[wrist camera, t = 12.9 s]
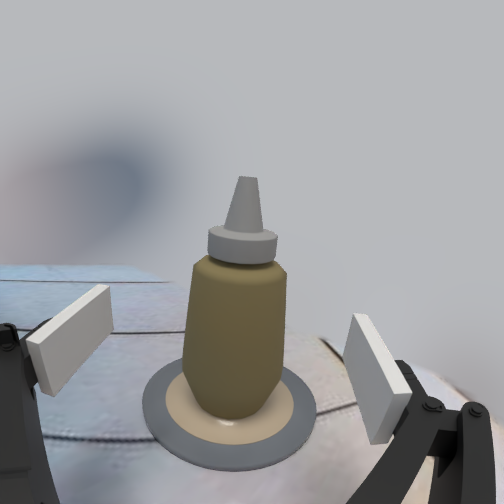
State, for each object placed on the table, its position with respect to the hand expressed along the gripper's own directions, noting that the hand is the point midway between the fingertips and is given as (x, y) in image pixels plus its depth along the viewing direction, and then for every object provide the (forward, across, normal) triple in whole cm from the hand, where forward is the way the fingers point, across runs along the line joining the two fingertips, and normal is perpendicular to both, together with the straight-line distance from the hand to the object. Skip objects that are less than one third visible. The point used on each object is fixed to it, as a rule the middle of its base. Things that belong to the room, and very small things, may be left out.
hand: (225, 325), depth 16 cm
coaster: (+7, 0, -12) cm, 13 cm away
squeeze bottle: (+7, 0, -11) cm, 13 cm away
